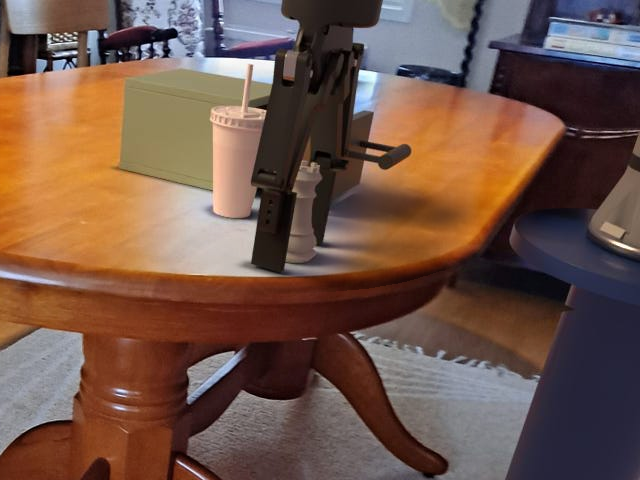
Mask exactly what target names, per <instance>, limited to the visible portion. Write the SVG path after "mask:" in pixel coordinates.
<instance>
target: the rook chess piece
mask: <svg viewBox="0 0 640 480" xmlns="http://www.w3.org/2000/svg"><path fill="white" fill-rule="evenodd" d="M307 163H308V161H303V160H302V163H301V166H300V168H299V171H298V175H297V178H296V181H295V184H294V188H293V190H292V192H296V193H297V197H296V203H295V209H294V215H293V221H292V226H291V232H290V238H289V244H288V250H287V256H286V261H285V263H291V264H304V263H308V262H309V261H311V260H312V259H314V257H315V256H316V250H315V249H314V248H315V247H316V246H317V245H318V244H316V237H315V236H314V234H313V232H314V229H313V228H312V223H311V218H312V204H313V199H314V198H315V197H316V193H315V186H316V185H317V184H318V183H319V182H320V181H321V180H322V176H321V174H320V172H319V168H320V165H317V163H314V162H312V163H311V167H308V166H307Z"/></svg>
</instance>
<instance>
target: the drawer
mask: <svg viewBox="0 0 640 480" xmlns="http://www.w3.org/2000/svg"><path fill="white" fill-rule="evenodd" d="M267 106H268V104H266V105H262V106H259V107H255V108H257V109H262V110H267ZM374 115H375V112H374V111H371V110H365V109H363V110H361V111H358V112H356V113H353V121H352V128H351V136H350V143H349V153H348V156H347V157H346V158H345V159H344V160H348V161H349V164H348V167H347V170H346V171H340V170H336V169H334V170H333V171H334V172H336V177H335V182H334V188H333V193H332V198H331V202H332V201H334V200H336V199H337V198H339V197H340V196H342V195H344V194H345V193H347V192H349V191H351V190H353V189H354V188H355V187H357V186H359V185H360V184H361V179H362V173H363V171H364V170H363V169H364V164H365V162H370V163H375V164H377V165H378V167H379V169H381V170H383V171H387V170H389V169H391V168H393V167H394V166H396V165H398V164H399V163H402V162H403V161H404V160H406V159H407V158H409V157H410V156H411V155H412V147H411V146H410V145H409V144H407V143H402V144H399V145H398V146H392V145H387V144H382V143H377V142H373V141H369V140H370V135H371V129H372V124H373V119H374ZM367 149H369V150H373V151H378V152H384V153H383V154H381V155H380V156H379V155H374V154H369V153H367ZM341 159H342V158H341ZM302 160H303V161H308V163H307V166H311V163H310V137H309V140H308V143H307V146H306V150H305V153H304V156H303V159H302ZM301 163H302V162H301ZM300 166H301V165H300ZM274 173H276V172H275V171H274Z"/></svg>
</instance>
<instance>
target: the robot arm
mask: <svg viewBox="0 0 640 480" xmlns="http://www.w3.org/2000/svg"><path fill="white" fill-rule="evenodd" d="M383 2H384V0H281V6H280V12H281V14H282V16H283V17H284V18H286V19H288V20H291V21H297V22H298V24H299V25H298V30H297V33H296V37H295V41H294V44H293V47H292V48H291V49H286V48H278V49H277V50H276V53H275V55H274V65H273V75H272V83H271V84H272V88H271V92H270V97H269V101H268V106H267V110H266V115H265V119H264V124H263V128H262V133H261V137H260V142H259V146H258V151H257V155H256V160H255V164H254V169H253V173H252V177H251V185H252V186H254V187H257V189H258V188H259V189H261V193H260V200H259V201H260V202H259V206H258V207H259V208H258V213H257V221H256V227H255V233H254V241H253V247H252V253H251V261H250V265H252V266H256V267H261V268H265V269H268V270H271V271H275V272H277V273H278V272H279V273H282V272H284V270H285V266H286V262H285V261H286V256H287V250H288V244H289V238H290V232H291V226H292V221H293V215H294V209H295V203H296V197H297V193H296V192H292V190H293V188H294V184H295V181H296V178H297V175H298V171H299V168H300V165H301V162H302V159H303V156H304V153H305V150H306V146H307V143H308V140H309V137H310V163H312V162H314V163H317V165H320V168H319V172H320V174H321V176H322V180H321V181H320V182H319V183H318V184H317V185H316V186H315V193H316V197H315V198H314V199H313V204H312V218H311V223H312V228H313V229H314V232H313V234H314V236H315V237H316V244H317V245H321V244H323V243H324V240H325V235H326V234H325V233H326V229H327V224H328V219H329V213H330V208H331V203H332V201H331V198H332V193H333V188H334V182H335V177H336V172H334V171H333V170H334V169H336V170H340V171H346V170H347V167H348V164H349V161H348V160H344V159H345V158H346V157H347V156H348V153H349V143H350V136H351V128H352V121H353V114H355V113H354V112H355V107H356V106H355V105H356V98H357V97H356V96H357V92H358V91H357V89H358V83H359V75H360V71H361V66H362V63H363V56H364V54H365V43H363V42H362V43H361V42H355V41H354V32H355V29H371V28H373V27H376V26H377V24H379V21H380V18H381V12H382V7H383ZM341 158H342V159H341ZM628 161H629V162H628V163H627V167H626V170H625V171H624V173H623V175H622V176H621V178H620V179H619V180H618V182H617V183H616V184H615V186H614V187H613V188H612V190H611V191H610V192H609V194H608V195H607V196H606V198H605V199H604V201H603V202H602V203H601V205H600V206H599V207H598V209H596V210H597V211H596V213H595V214H594V216H593V217H592V219H591V220H590V223H589V226H588V229H587V232H586V238H587V239H588V240H589V241H590V242H591V243H592V244H593V245H595V246H596V247H598V248H600V249H602V250H604V251H606V252H608V253H611V254H613V255H616V256H618V257H621V258H624V259H627V260H630V261H633V262H637V263H640V131H639V132H638V135H637V138H636V140H635V144H634V147H633V150H632V153H631V156H630V158H629V160H628ZM308 167H311V166H308ZM274 171H275V172H276V173H274Z"/></svg>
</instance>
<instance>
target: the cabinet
mask: <svg viewBox="0 0 640 480" xmlns="http://www.w3.org/2000/svg"><path fill="white" fill-rule="evenodd" d="M245 80H246V78H240V77H233V76H229V75H222V74H217V73H211V72H205V71H199V70H193V69H187V68H176V69H171V70H170V69H169V70H163V71H158V72H154V73H153V72H152V73H146V74H139V75H134V76H128V77H124V87H123V104H122V119H121V134H120V135H121V136H120V139H121V140H120V151H119V166H118V169H119V170H123V171H129V172H133V173H137V174H142V175H145V176H150V177H154V178H159V179H162V180H167V181H170V182H174V183H178V184H183V185H187V186H192V187H196V188H201V189H204V190H208V191H213V122H211V121H210V117H211V109H213V108H214V107H218V106H242V103H243V95H244V87H245ZM271 88H272V83H269V82H263V81H257V80H253V79H252V80H251V88H250V95H249V103H248V107H251V108H255V107H259V106H262V105H266V104H268V101H269V97H270V92H271Z"/></svg>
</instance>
